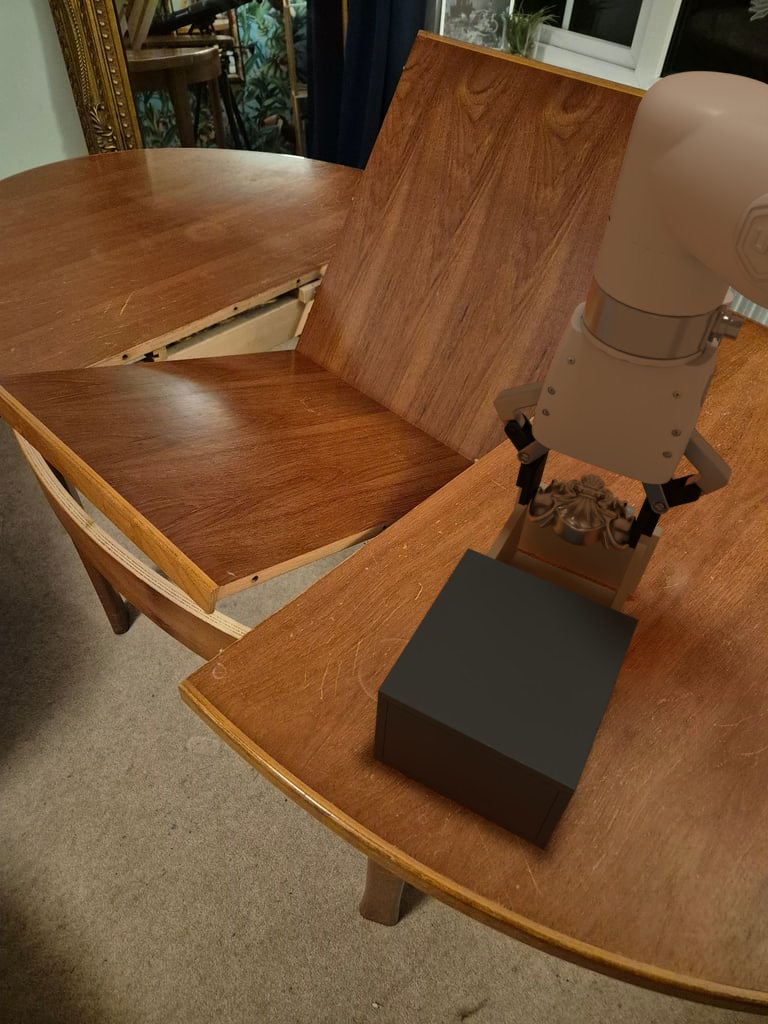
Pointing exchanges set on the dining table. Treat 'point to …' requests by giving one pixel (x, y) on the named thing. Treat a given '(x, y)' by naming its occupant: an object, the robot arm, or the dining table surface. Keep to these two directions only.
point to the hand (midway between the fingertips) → (581, 514)
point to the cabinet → (502, 694)
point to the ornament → (582, 512)
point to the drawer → (574, 558)
